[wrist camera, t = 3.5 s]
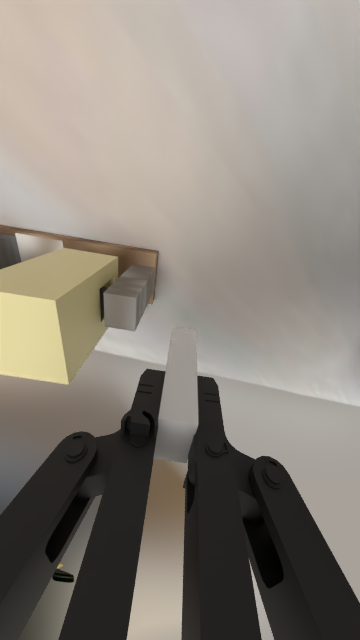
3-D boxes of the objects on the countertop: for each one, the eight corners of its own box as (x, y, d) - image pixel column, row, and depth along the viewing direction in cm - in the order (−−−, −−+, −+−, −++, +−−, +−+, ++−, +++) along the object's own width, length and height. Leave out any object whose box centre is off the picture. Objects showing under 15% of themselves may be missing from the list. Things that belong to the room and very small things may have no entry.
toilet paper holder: (158, 251, 24) (132, 286, 14) (153, 299, 27) (129, 356, 17) (-1, 224, 23) (-149, 240, 13) (12, 276, 26) (-101, 321, 16)
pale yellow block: (118, 256, 19) (55, 300, 11) (118, 313, 22) (68, 384, 13) (64, 247, 19) (-45, 284, 10) (71, 306, 22) (-10, 372, 13)
